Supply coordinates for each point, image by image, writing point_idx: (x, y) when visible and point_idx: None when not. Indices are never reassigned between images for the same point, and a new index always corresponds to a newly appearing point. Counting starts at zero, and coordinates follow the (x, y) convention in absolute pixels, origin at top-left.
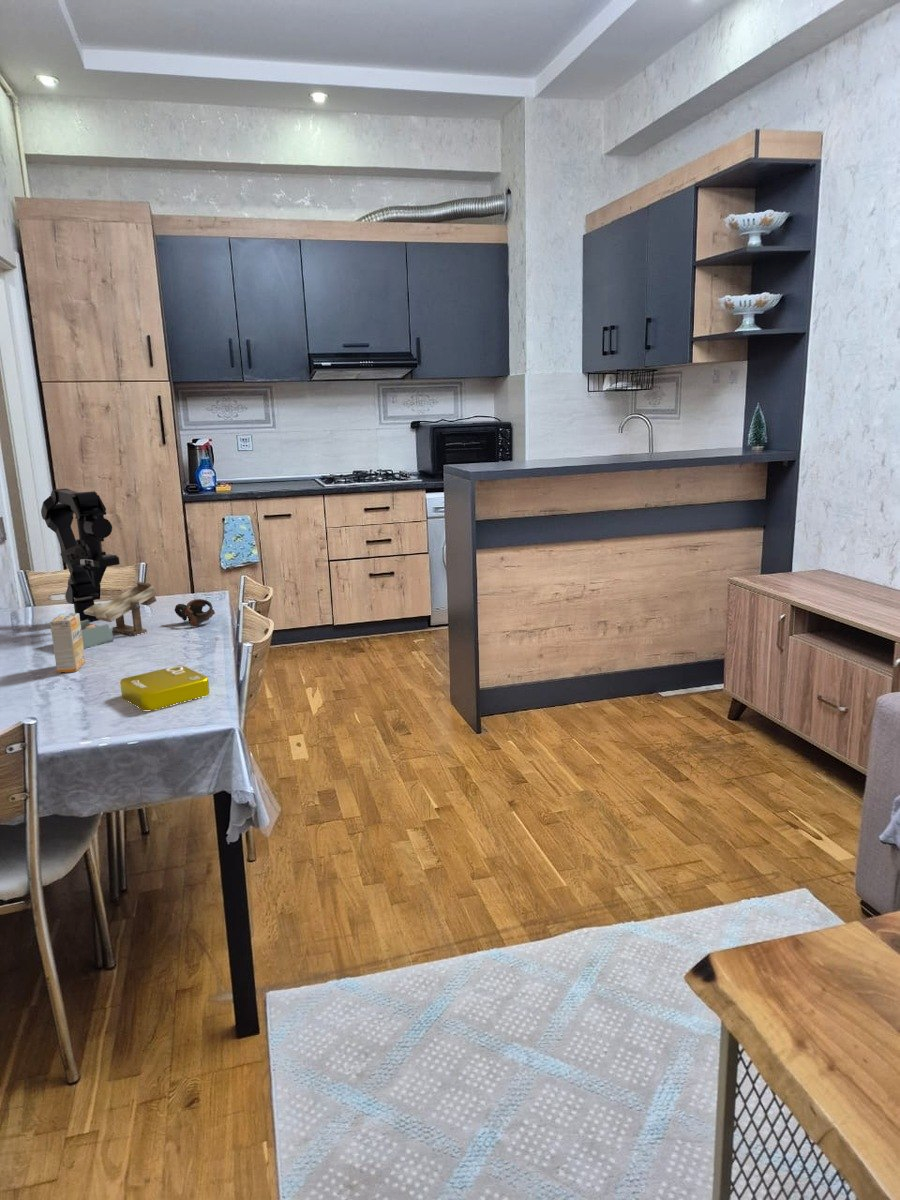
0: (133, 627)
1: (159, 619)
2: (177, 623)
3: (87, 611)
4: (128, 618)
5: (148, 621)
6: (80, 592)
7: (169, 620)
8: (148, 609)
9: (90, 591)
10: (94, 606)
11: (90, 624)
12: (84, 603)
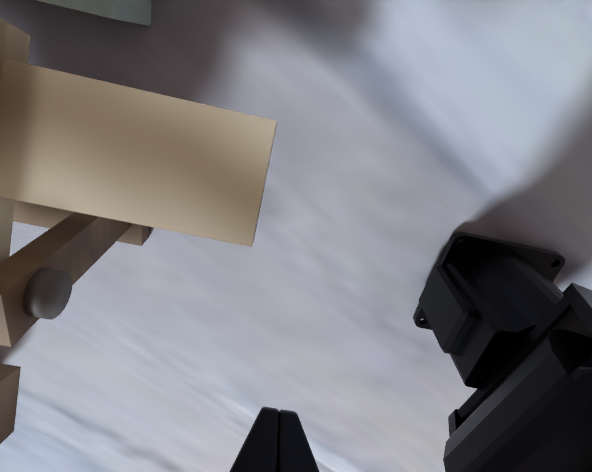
0: (30, 212)
1: (142, 378)
2: (3, 353)
3: (211, 112)
4: (293, 359)
5: (156, 346)
6: (538, 374)
7: (86, 377)
8: (328, 461)
9: (478, 427)
10: (214, 206)
11: (106, 8)
12: (493, 329)
